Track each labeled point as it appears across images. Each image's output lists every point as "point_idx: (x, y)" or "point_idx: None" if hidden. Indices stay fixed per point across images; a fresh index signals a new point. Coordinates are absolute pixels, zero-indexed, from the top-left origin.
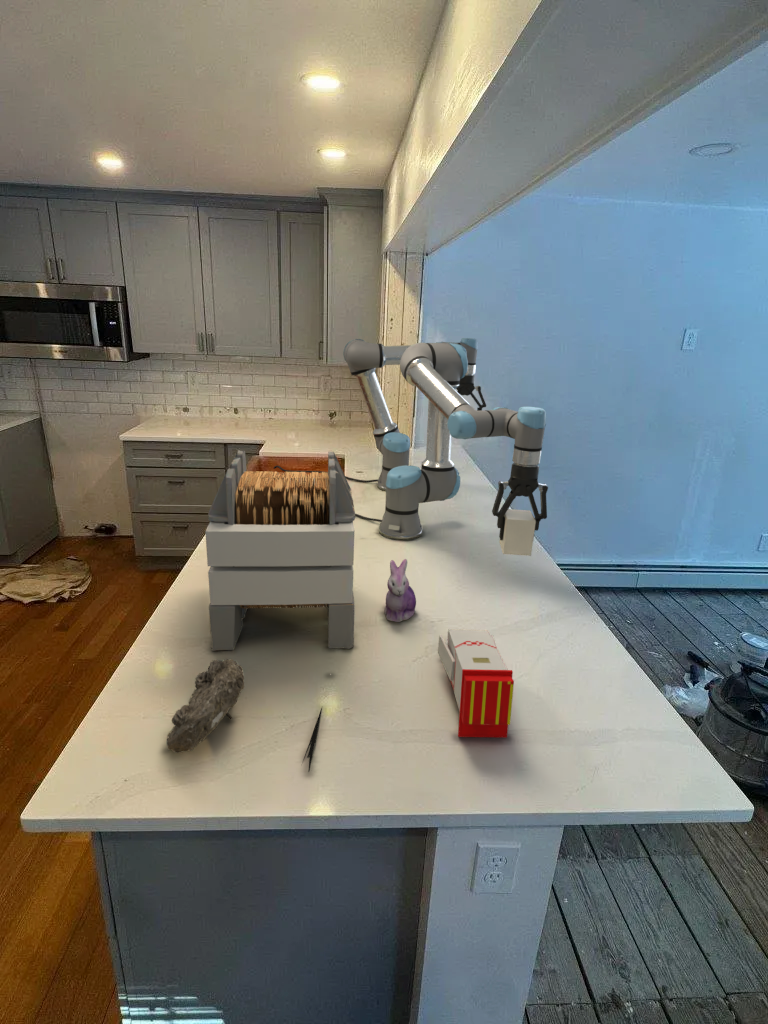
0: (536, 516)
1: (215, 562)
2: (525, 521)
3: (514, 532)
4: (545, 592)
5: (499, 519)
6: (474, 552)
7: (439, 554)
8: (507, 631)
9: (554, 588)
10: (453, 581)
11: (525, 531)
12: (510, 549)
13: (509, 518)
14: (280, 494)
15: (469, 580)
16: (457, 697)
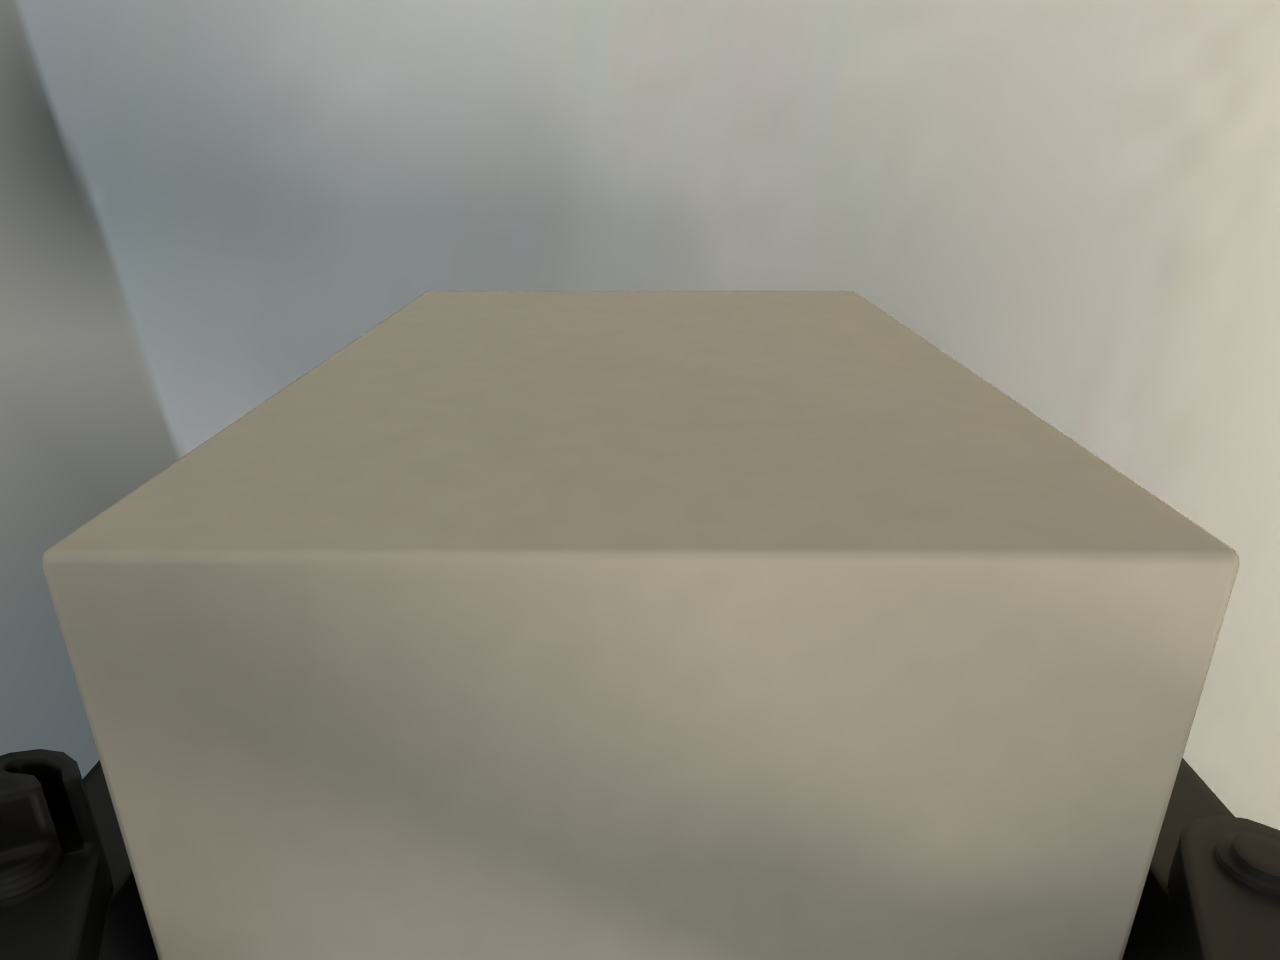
0: (31, 935)
1: None
2: (478, 530)
3: (781, 391)
4: (325, 136)
5: (1199, 816)
6: None
7: (1196, 764)
8: None
9: (231, 244)
10: (1229, 245)
11: (494, 407)
12: (762, 305)
13: (1122, 639)
14: None
15: (1057, 293)
16: None
